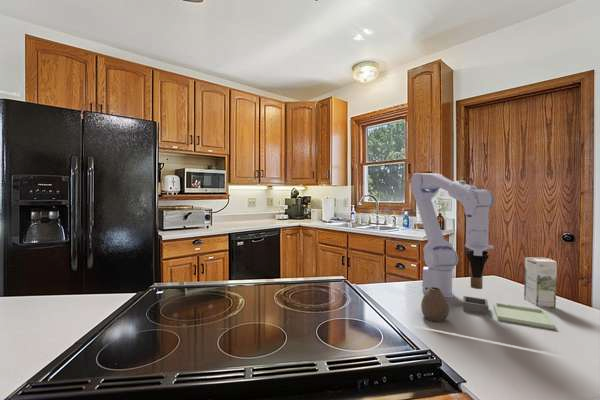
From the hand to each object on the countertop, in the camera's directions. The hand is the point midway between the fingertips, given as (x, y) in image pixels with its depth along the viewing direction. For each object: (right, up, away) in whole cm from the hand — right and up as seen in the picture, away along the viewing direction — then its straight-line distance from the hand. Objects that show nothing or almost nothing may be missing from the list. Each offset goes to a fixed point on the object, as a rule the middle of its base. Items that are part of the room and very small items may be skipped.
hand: (476, 276), depth 87 cm
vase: (-15, -11, -6) cm, 20 cm away
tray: (+9, -11, -5) cm, 15 cm away
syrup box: (+23, -11, +6) cm, 26 cm away
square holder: (0, -10, 0) cm, 10 cm away
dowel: (0, -3, 0) cm, 3 cm away
